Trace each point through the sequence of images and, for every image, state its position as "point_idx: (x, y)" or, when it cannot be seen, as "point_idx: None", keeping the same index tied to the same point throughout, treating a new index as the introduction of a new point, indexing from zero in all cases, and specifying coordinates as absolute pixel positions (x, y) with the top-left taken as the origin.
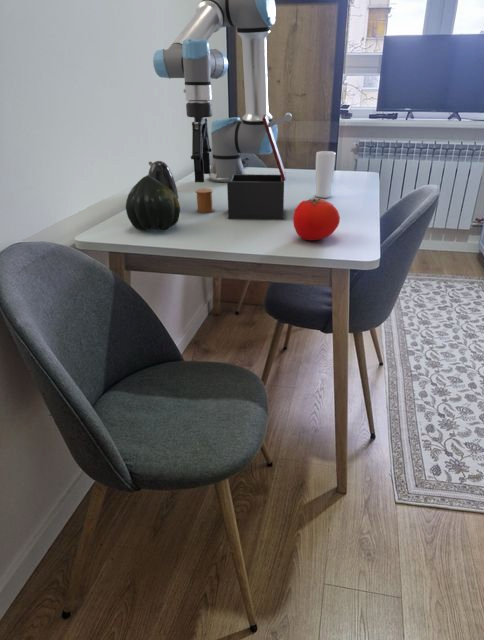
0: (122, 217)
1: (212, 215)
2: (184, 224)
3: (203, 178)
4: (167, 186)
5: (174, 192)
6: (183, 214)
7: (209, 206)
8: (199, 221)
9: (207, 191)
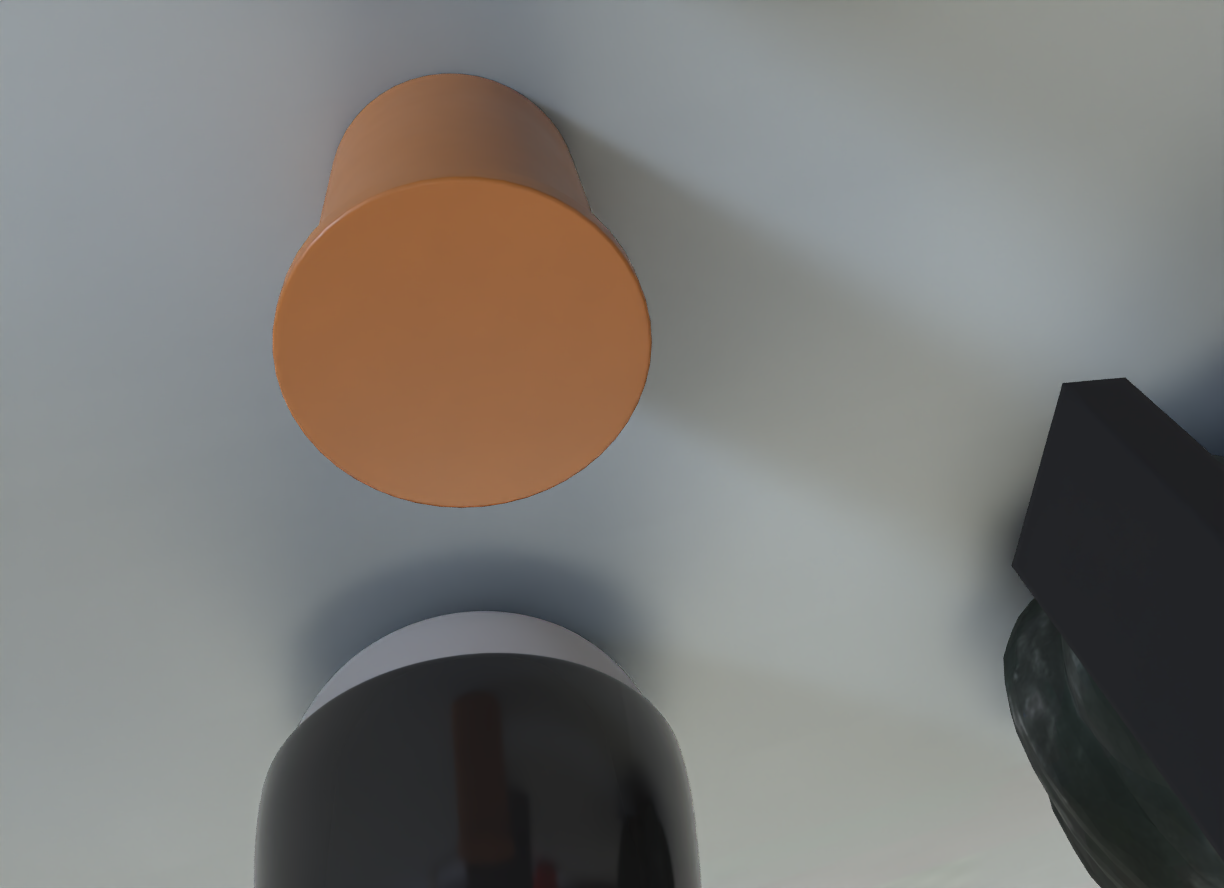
0: (779, 868)
1: (718, 22)
2: (1131, 317)
3: (1183, 438)
4: (659, 883)
5: (563, 748)
6: (666, 443)
7: (548, 135)
8: (1034, 161)
9: (554, 271)
